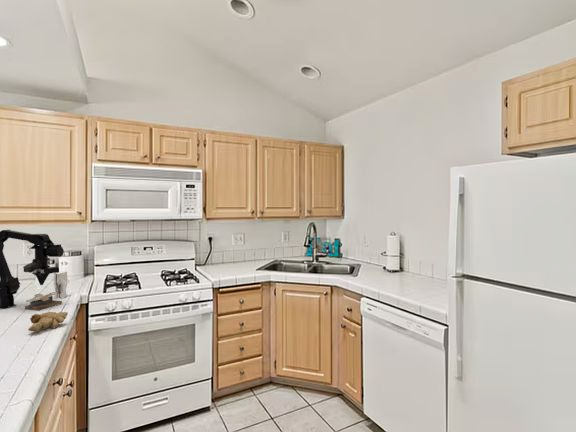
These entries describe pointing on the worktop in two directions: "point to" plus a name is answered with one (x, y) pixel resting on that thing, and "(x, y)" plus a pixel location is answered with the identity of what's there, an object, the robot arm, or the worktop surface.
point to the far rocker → (50, 294)
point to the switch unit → (42, 304)
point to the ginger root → (47, 320)
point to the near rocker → (33, 299)
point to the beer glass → (60, 284)
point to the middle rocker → (42, 297)
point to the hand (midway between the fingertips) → (41, 284)
